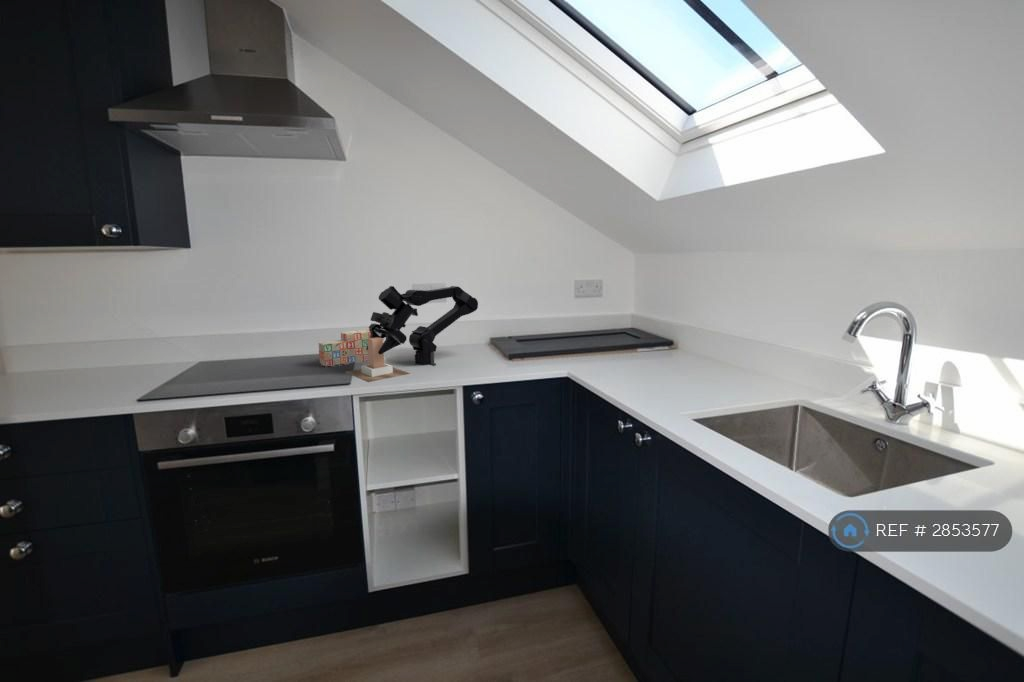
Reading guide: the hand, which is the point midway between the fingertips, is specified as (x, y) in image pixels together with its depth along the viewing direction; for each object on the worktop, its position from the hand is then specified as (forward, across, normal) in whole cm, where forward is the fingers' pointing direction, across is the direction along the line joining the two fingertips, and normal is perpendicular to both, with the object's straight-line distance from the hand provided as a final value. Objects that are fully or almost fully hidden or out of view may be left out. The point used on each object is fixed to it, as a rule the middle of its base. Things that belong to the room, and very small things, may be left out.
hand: (373, 351), depth 168 cm
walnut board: (+6, 0, +7) cm, 9 cm away
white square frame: (+5, 0, +6) cm, 8 cm away
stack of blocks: (+5, -28, +9) cm, 30 cm away
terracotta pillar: (+5, 0, +6) cm, 8 cm away
